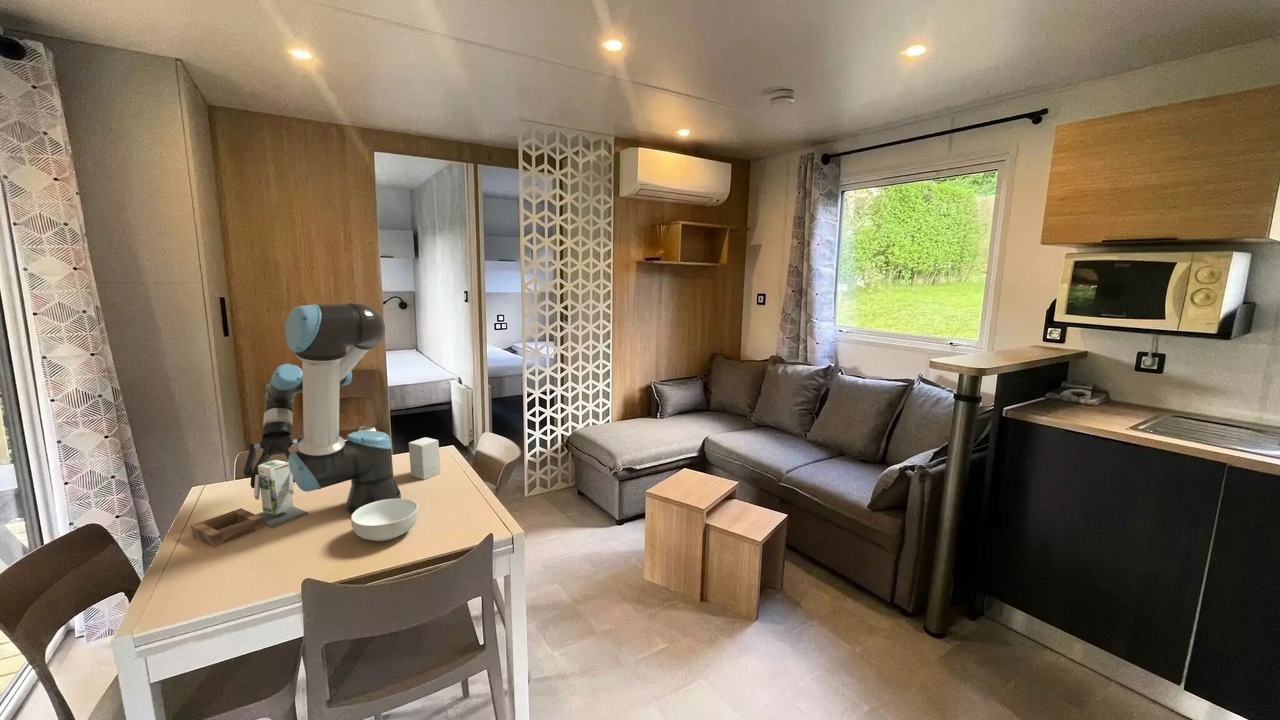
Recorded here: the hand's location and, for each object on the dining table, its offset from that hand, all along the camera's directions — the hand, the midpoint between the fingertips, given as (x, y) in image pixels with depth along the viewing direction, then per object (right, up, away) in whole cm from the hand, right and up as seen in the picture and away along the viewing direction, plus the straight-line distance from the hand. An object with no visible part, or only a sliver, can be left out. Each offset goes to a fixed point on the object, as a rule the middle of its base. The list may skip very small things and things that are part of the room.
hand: (274, 494), depth 149 cm
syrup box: (-2, -6, +4) cm, 7 cm away
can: (-1, +1, +53) cm, 53 cm away
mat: (-2, -7, +4) cm, 9 cm away
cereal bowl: (+35, -10, -5) cm, 37 cm away
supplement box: (+29, -2, +36) cm, 46 cm away
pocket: (-9, -9, -5) cm, 14 cm away
